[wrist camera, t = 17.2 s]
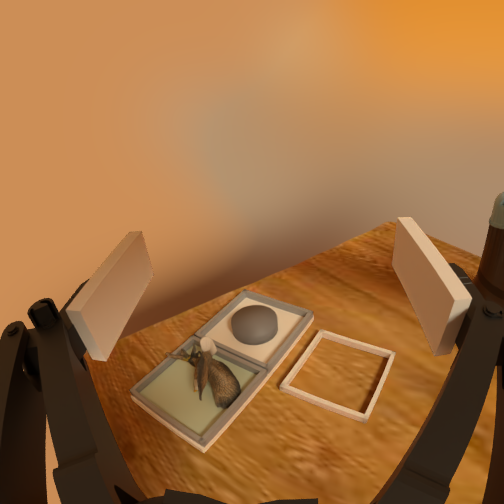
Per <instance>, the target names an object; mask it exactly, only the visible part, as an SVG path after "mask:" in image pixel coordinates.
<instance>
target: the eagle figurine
mask: <svg viewBox="0 0 504 504" xmlns="http://www.w3.org/2000/svg"><path fill="white" fill-rule="evenodd" d="M200 347H201V350H202V353H201V351H198V352H197V353H196V351H197V350H196V345H195V343H193V349H192V352H191V355H189V354H188V353H187V352H186V351H185V350H184V349H183V348H182V349H181V355H174V354H171V353H166V355H167V356H169V357H170V358H173V359H180V360H183V361H186V362H188V363H189V364H191V365H192V366H193V367H195V372H194V392H196V391H197V390H198V391H199V399H200V401H201V400H202V392H203V389H204V388H205V386H206V383H207V380H208V381H209V382H210V383H211V386H212V388H213V390H214V393H215V400H216V405H217V407H218V408H220V407H221V408H222V409H225V408H227V409H228V408H229V407H230V406H231V405H232V403H233V402H234V401H235V400H236V399H237V398H238V397H239V396H240V394H241V388H240V384H239V381H238V380H237V378H236V376H235V375H233V373H232V371H231V370H230V368H229V367H228V366H227V365H225V364H224V363H223V362H221V361H218V360H215V359H213V358H212V357H213V355H214V354H215V353H216V352H217V349H216V346H215V344H214V342H213V340H212V339H211V338H210V337H203V338H201V339H200ZM199 354H200V357H199V356H198V355H199Z"/></svg>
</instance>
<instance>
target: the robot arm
mask: <svg viewBox="0 0 504 504" xmlns="http://www.w3.org/2000/svg"><path fill="white" fill-rule="evenodd" d="M489 224H490V225H489V229H488V234H487V238H486V243H485V247H484V251H483V254H482V258H481V262H480V265H479V269H478V272H477V275H476V276H475V278H474V279H473V280H472V281H471V280H470V278H468V276H467V274H466V273H465V272H464V270H463V269H462V268H460V267H459V266H457V265H456V264H455V263H447V262H446V260H445V259H444V258H443V256H442V255H441V254H440V253H439V251H438V250H437V249H436V247H435V246H434V245H433V244H432V242H431V241H430V240H429V239H428V237H427V236H426V235H425V234H424V232H423V231H422V230H421V229H420V227H419V226H418V225H417V224H416V223H415V221H414V220H413V219H412V218H411V217H402V218H401V217H399V218H397V226H396V235H395V244H394V251H393V259H392V267H393V268H394V270H395V272H396V274H397V276H398V278H399V280H400V282H401V284H402V286H403V288H404V290H405V292H406V294H407V296H408V299H409V301H410V303H411V305H412V307H413V309H414V311H415V313H416V316H417V318H418V320H419V322H420V324H421V327H422V329H423V331H424V333H425V336H426V338H427V340H428V343H429V345H430V347H431V350H432V352H433V355H434V356H439V355H445V354H450V353H451V351H452V349H453V347H454V344H455V343H456V345H457V347H458V349H459V351H458V353H457V355H456V357H455V359H454V361H453V364H452V366H451V368H450V371H449V374H448V376H447V378H446V380H445V382H444V385H443V387H442V389H441V391H440V393H439V395H438V397H437V399H436V401H435V403H434V405H433V407H432V409H431V411H430V413H429V414H428V416H427V418H426V420H425V422H424V424H423V425H422V427H421V429H420V431H419V432H418V434H417V436H416V438H415V439H414V441H413V443H412V444H411V446H410V448H409V449H408V451H407V452H406V454H405V455H404V457H403V459H402V460H401V462H400V463H399V465H398V466H397V468H396V469H395V471H394V472H393V474H392V475H391V476H390V478H389V479H388V481H387V482H386V484H385V485H384V486H383V488H382V489H381V490H380V492H379V493H378V494H377V496H376V497H375V498H374V499H373V501H372V502H371V503H370V504H444V503H445V501H446V499H447V497H448V495H449V492H450V488H449V484H450V482H451V479H452V477H453V476H454V474H455V472H456V470H457V467H458V465H459V463H460V461H461V459H462V457H463V455H464V453H465V450H466V448H467V446H468V443H469V441H470V439H471V436H472V434H473V431H474V429H475V426H476V424H477V421H478V419H479V416H480V413H481V410H482V407H483V405H484V402H485V399H486V396H487V392H488V389H489V386H490V383H491V379H492V376H493V372H494V369H495V366H497V401H496V418H495V430H494V440H493V448H492V455H491V462H490V468H489V474H488V479H487V484H486V489H485V494H484V498H483V502H482V504H504V192H502V193H500V194H499V195H498V196H497V198H496V200H495V203H494V207H493V211H492V215H491V217H490V219H489ZM153 276H154V273H153V270H152V266H151V263H150V259H149V256H148V252H147V249H146V245H145V242H144V238H143V234H142V231H136V232H129V233H128V234H127V235H126V236H125V238H124V239H123V240H122V241H121V242H120V243H119V245H118V246H117V247H116V248H115V249H114V250H113V252H112V253H111V254H110V255H109V256H108V257H107V259H106V260H105V261H104V262H103V263H102V264H101V266H100V267H99V268H98V269H97V271H96V272H95V273H94V274H93V275H92V277H91V278H90V279H88V280H87V281H85V282H84V283H82V284H81V285H80V286H79V288H78V289H77V290H76V291H75V293H74V294H73V295H72V296H71V298H70V299H69V300H68V302H67V303H66V304H65V305H64V307H63V308H62V309H61V311H60V312H58V310H57V308H56V306H55V304H54V302H53V300H52V299H50V298H44V299H41V300H39V301H37V302H35V303H34V304H33V305H32V306H31V307H30V308H29V310H28V316H29V318H30V319H31V321H32V323H33V325H34V326H35V328H34V329H28V330H27V328H26V327H25V325H24V323H23V322H21V321H16V322H13V323H11V324H10V325H8V326H7V327H6V329H5V330H4V331H3V333H2V336H1V339H0V504H48V502H47V489H46V469H45V468H46V464H45V439H46V414H47V419H48V424H49V428H50V433H51V437H52V441H53V445H54V449H55V453H56V457H57V461H58V468H56V469H53V477H54V482H55V485H56V488H57V491H58V494H59V498H60V501H61V504H226V503H223V502H220V501H217V500H214V499H211V498H209V497H206V496H203V495H200V494H193V493H186V492H180V491H174V490H169V489H166V490H165V495H164V496H160V497H153V498H149V499H147V498H146V496H145V495H144V494H143V492H142V491H141V490H140V489H139V487H138V486H137V484H136V483H135V481H134V479H133V477H132V475H131V473H130V471H129V469H128V467H127V465H126V463H125V461H124V458H123V456H122V454H121V452H120V450H119V448H118V445H117V443H116V441H115V438H114V436H113V434H112V431H111V429H110V427H109V424H108V422H107V419H106V417H105V414H104V411H103V409H102V406H101V403H100V401H99V398H98V395H97V392H96V390H95V387H94V384H93V381H92V378H91V375H90V371H89V368H88V365H87V362H86V360H85V358H84V357H83V355H84V354H85V352H86V350H87V351H88V353H89V355H90V356H91V358H92V360H99V361H107V359H108V357H109V355H110V353H111V352H112V350H113V348H114V346H115V344H116V342H117V340H118V338H119V336H120V334H121V332H122V331H123V329H124V327H125V325H126V323H127V321H128V320H129V318H130V316H131V314H132V312H133V311H134V309H135V307H136V305H137V303H138V301H139V300H140V298H141V296H142V295H143V293H144V291H145V289H146V288H147V286H148V284H149V282H150V281H151V279H152V277H153ZM23 369H24V371H23ZM260 504H318V498H317V499H295V500H275V501H271V502H265V503H260Z"/></svg>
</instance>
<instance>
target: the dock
mask: <svg viewBox="0 0 504 504" xmlns="http://www.w3.org/2000/svg"><path fill="white" fill-rule="evenodd" d="M313 321H314V316H313V311H310V310H307V309H304V308H301V307H298V306H295V305H291V304H288V303H285V302H282V301H279V300H276V299H273V298H270V297H267V296H264V295H261V294H258V293H255V292H252V291H249V290H246V289H244V290H243V291H242V292H241V293H240V294H239V295H237V296H236V297H235V298H234V299H233V300H232V301H231V302H230V303H228V304H227V305H226V306H225V307H224V308H223V309H222V310H221V311H219V312H218V313H217V314H216V315H215V316H214V317H213V318H212V319H210V320H209V321H208V322H207V323H206V324H205V325H204V326H202V327H201V328H200V329H199V330H198V331H197V332H196V333H195V334H194V336H193V335H192V336H191V337H190V338H189V339H188V340H187V341H185V342H184V343H183V344H182V345H181V346H180V347H178V348H177V349H176V350H175V351H174V352H173V353H172V354H174V355H181V349H182V348H183V349H184V350H185V351H186V352H187V353H188V354H189V355H191V352H192V349H193V343H195V345H196V350H197V351H196V353H197V352H198V351H201V353H202V350H201V347H200V339H201V338H203V337H210V338H211V339H212V340H213V342H214V344H215V346H216V349H217V352H216V353H215V354H214V355H213V357H212V358H213V359H215V360H218V361H221V362H223V363H224V364H225V365H227V366H228V367H229V368H230V370H231V371H232V373H233V375H235V376H236V378H237V380H238V381H239V384H240V388H241V394H240V396H239V397H238V398H237V399H236V400H235V401H234V402H233V403H232V405H231V406H230V407H229V408H228V409H227V408H225V409H222V408H221V407H220V408H218V407H217V405H216V400H215V393H214V390H213V388H212V386H211V383H210V382H209V381H208V380H207V383H206V386H205V388H204V389H203V392H202V400H201V401H200V399H199V391H198V390H197V391H196V392H194V372H195V367H193V366H192V365H191V364H189V363H188V362H186V361H183V360H180V359H173V358H170V357H169V356H168V357H167V358H166V359H165V360H163V361H162V362H161V363H160V364H159V365H158V366H157V367H155V368H154V369H153V370H152V371H151V372H150V373H148V374H147V375H146V376H145V377H144V378H143V379H141V380H140V381H139V382H138V383H137V384H135V385H134V386H133V387H132V388H131V389H130V390H129V391H130V393H131V394H132V396H131V399H132V400H133V401H134V402H135V403H136V404H137V405H139V406H140V407H141V408H142V409H144V410H145V411H146V412H147V413H149V414H150V415H151V416H152V417H154V418H155V419H156V420H158V421H159V422H160V423H162V424H163V425H164V426H166V427H167V428H168V429H170V430H171V431H172V432H174V433H175V434H177V435H178V436H179V437H181V438H182V439H184V440H185V441H187V442H188V443H189V444H191V445H192V446H194V447H195V448H197V449H198V450H200V451H201V452H203V453H205V452H206V451H207V450H208V449H209V447H210V446H211V445H212V444H213V443H214V442H215V441H216V440H217V439H218V438H219V436H220V435H221V434H222V433H223V432H224V431H225V430H226V429H227V428H228V426H229V425H230V424H231V423H232V422H233V421H234V420H235V418H236V417H237V416H238V415H239V414H240V413H241V412H242V410H243V409H244V408H245V407H246V406H247V404H248V403H249V402H250V401H251V400H252V399H253V397H254V396H255V395H256V394H257V393H258V391H259V390H260V389H261V388H262V386H263V385H264V384H265V383H266V382H267V380H268V379H269V378H270V377H271V375H272V374H273V373H274V372H275V370H276V369H277V368H278V367H279V365H280V364H281V363H282V362H283V360H284V359H285V358H286V356H287V355H288V354H289V353H290V351H291V350H292V349H293V347H294V346H295V345H296V343H297V342H298V341H299V339H300V338H301V337H302V335H303V334H304V333H305V331H306V330H307V329H308V327H309V326H310V325H311V323H312V322H313ZM198 356H199V357H200V354H199V355H198Z"/></svg>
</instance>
